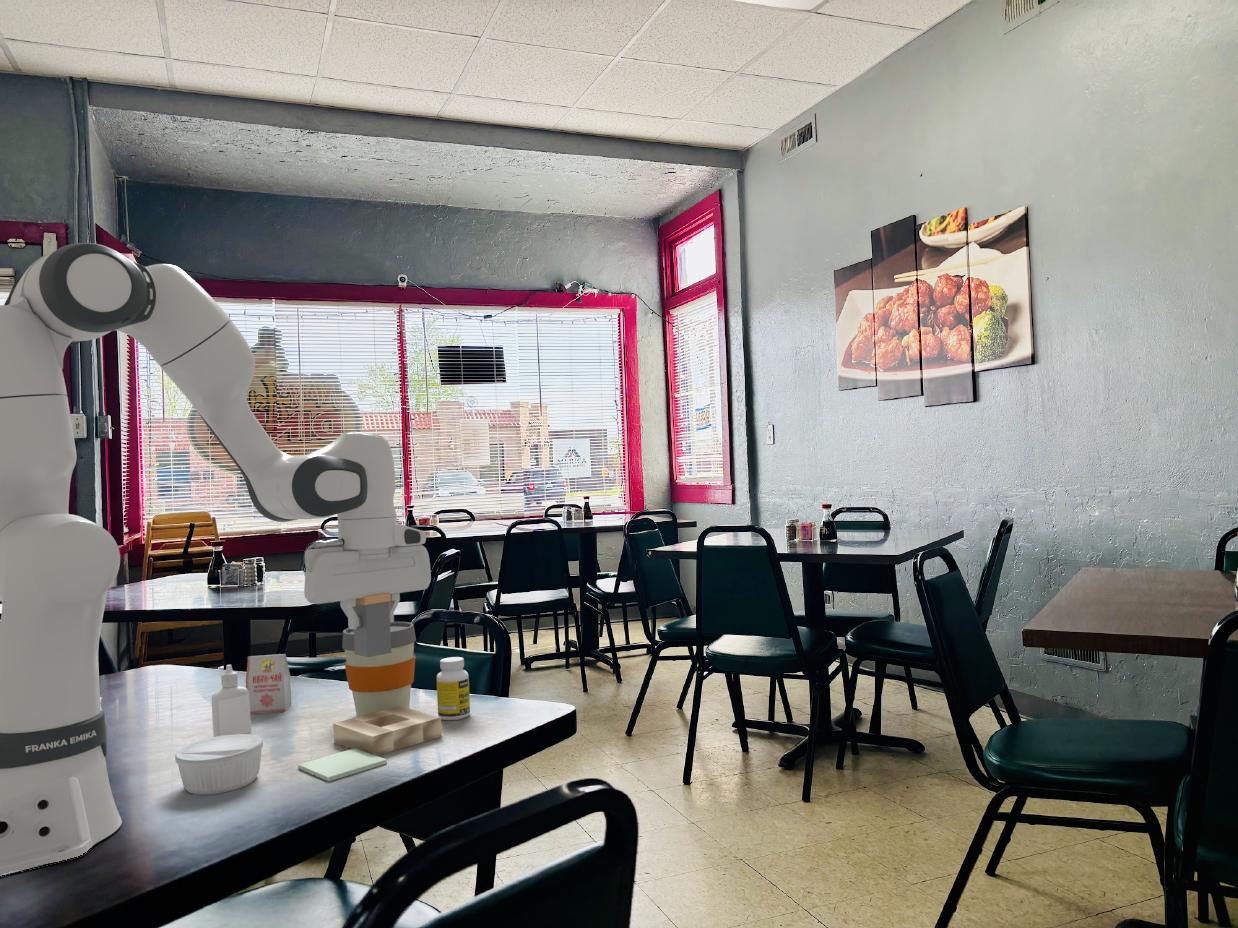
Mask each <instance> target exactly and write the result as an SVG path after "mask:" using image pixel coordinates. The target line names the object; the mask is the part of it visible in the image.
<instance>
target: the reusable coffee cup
mask: <svg viewBox="0 0 1238 928" xmlns="http://www.w3.org/2000/svg"><path fill="white" fill-rule="evenodd" d="M414 626H415V625H414V624H413V623H412V622H410V621H409V622H408V621H394V622H393V623H390V633H391V653H387V654H382V655H377V656H373V657H364V656H359V655H355V646H354V629H350V628H349V627H347V628H345V629H344V630H342V645H341V647H342V649H343V650H344V654H345V659H346V661H345V663H344V668H345V673H346V679H347V683H348V685H347V686H348V689H349V690H350V691H351V692H352V697H353V703H354V708H355V713H356V717H360V716H364V715H368V714H372V713H375V712H379V711H383V710H387V709H391V708H395V707H398V706H401V707H405V708H409V709H410V703H411V691H412V689H411V688H412V684H413V683H414V682H415V681H414V680H415V667H416V655H414V649H415V642H416V641H417V638H416V632H415V627H414Z"/></svg>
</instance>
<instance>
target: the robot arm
mask: <svg viewBox="0 0 1238 928" xmlns="http://www.w3.org/2000/svg"><path fill="white" fill-rule="evenodd" d="M113 331H116V332H121V333H123V334H125V335H128V336H130V337H132V339H134V340H135V341H137V343H139V344H140V345H141V346H143V347H144V348H145V349H146V350H147V352H148V353H149V354H150V356H151V357H152V358H153V360H154V361H155V362H156V363H157V364H158V366H159V367H160V368H161V370H162V371H163V372H164V373H165V374H166V375H167V376H168V377H169V379H170V380H171V381H172V382H173V383H174V385H175V386H176V387H177V388H178V389H179V391H180V392H181V393H182V394H183V395H184V396H185V398H187V400H188V401H189V402H190V403H191V404H190V405H192V406H193V408H194V409H195V410H196V412H197V413H198V415H199V416H200V418H201V420H202V422H204V424H205V425H206V427H207V428H208V430H209V431H210V432H211V433H212V435H213V436H214V437H215V439H216V440H217V441H218V443H219V444H220V445H221V447H222V448H223V450H224V451H225V452H226V454H227V455H228V456H229V458H230V459H231V460H232V461H233V462H232V463H234V465H235V466H236V467H237V468H238V470H239V471H240V473H241V476H242V477H243V480H244V483H245V485H246V488H247V492H248V495H249V498H250V500H251V503H252V505H253V506H254V507H255V509H256V510H257V512H259V514H261V515H262V516H263V517H265V518H267V519H269V520H270V521H274V522H280V523H287V522H292V521H298V520H313V519H314V520H317V519H319V520H321V519H325V518H330V517H332V516H336V515H337V532H338V533H337V534H338V535H337V536H338V538H337V539H336V538H335V539H329V540H316V541H314V542H313V544H310V545H309V546H308V547H307V548H306V549H305V551H304V564H305V565H304V566H305V568H306V569H305V575H304V576H305V577H304V587H303V590H304V593H303V595H304V598H305V599H306V601H307V602H308V603H309V604H314V605H321V604H329V603H335V602H336V603H337V602H340V603H339V604H340V608H341V609H342V611H343V613H344V614H345V616H346V617H347V622H348V623H347V624H348V628H350V629H358V628H362V627H363V623H362V621H363V618H362V616H357V615H356V613H355V611H354V609H353V607H354V606H356V601H355V599H359V598H363V597H366V596H373V595H379V594H386V593H390V596H391V601H389V613H390V623H393V622H395V616H394V615H395V614H394V612H395V611H396V609H397V608H398V607H397V606H398V605H399V603H400V600H401V597H400V596H401V595H400V594H403V593H409V592H416V591H423V590H424V591H425V590H427V589H428V588H429V586H430V583H431V581H432V576H431V575H432V574H431V561H430V556H429V555H430V554H429V552H428V550H427V548H426V547H425V546H424V545H423V544H426V541H427V535H426V532H425V531H424V530H422V529H421V530H420V529H418V528H414V527H410V526H407V525H404V524H400V523H398V519H397V511H396V508H395V504H394V496H395V492H396V476H395V475H396V474H395V473H396V472H395V463H394V457H393V452H392V448H391V445H390V443H389V441H388V440H387V439H386V438H385V437H383V436H381V435H379V434H375V433H371V432H365V431H363V432H361V431H346V432H342V433H341V434H340V435H338V437H337V438H336V439H334V440H333V441H332V442H330V443H329V444H327V445H325V446H323V447H322V448H321V447H320V448H319V449H317V450H313V451H312V452H310V453H308V454H304V455H299V456H293V455H290V454H288V453H286V452H284V451H282V450H281V449H280V448H279V447H278V446H277V445H276V444H275V443H274V442H273V440H272V439H271V437H270V436H269V434H268V433H267V431H266V430H265V429H264V427H263V426H262V424H261V423H260V422H259V420H258V419H257V417H256V415H255V414H254V413H253V411H252V410H251V407H250V406H249V402H248V397H247V396H248V392H249V391H248V390H249V387H250V386H251V383H252V381H253V379H254V377H255V371H256V358H255V356H254V353H253V351H252V350H251V347H250V345H249V344H248V342H247V340H246V338H245V336H244V335H243V333H242V332H241V331H240V330H239V328H238V327H237V326H236V324H235V323H234V321H232V319H230V317H229V315H228V314H227V313H226V312H225V311H224V310H223V309H222V307H220V305H219V304H218V303H217V302H216V300H215V299H214V298H213V297H212V296H211V295H210V294H209V293H208V292H207V291H206V290H205V289H204V288H203V287H202V286H201V285H200V284H199V283H198V282H196V280H195V279H194V278H192V277H191V275H188V273H186V272H185V271H184V270H183V269H182V268H180V267H178V266H177V265H173V264H169V263H154V264H152V265H148V266H144V265H142V264H141V263H137V262H136V261H134V260H131V259H129V258H127V257H126V256H124V255H123V254H122V253H120V252H118V251H117V250H114V249H113V248H110V247H108V246H105V245H102V244H98V243H92V242H77V243H72V244H71V243H70V244H67V245H64V246H61V247H59V248H58V249H55V250H54V251H52V252H49V253H47V254H45V255H42V256H40V257H39V258H38V259H36V260H35V261H34V262H33V263H32V264H30V266H29V267H28V268H27V269H26V270H25V271H23V272H22V273H21V275H20V276H18V278H16V280H15V282H14V284H13V285H12V288H11V290H10V291H9V294H8V296H7V298H6V300H5V302H4V304H2V305H1V304H0V602H1V616H0V875H2V874H4V873H8V872H10V871H15V870H22V869H24V868H30V867H33V866H38V865H43V864H48V863H53V862H58V863H60V862H59V861H62V860H66V861H68V860H67V859H70V858H74V857H77V858H79V857H78V856H80V855H82V856H84V855H83V853H85V852H86V853H88V852H89V851H90V850H91V849H90V848H92V847H93V846H95V845H96V844H97V843H100V841H101V842H102V840H105V839H107V838H108V837H109V836H111V835H112V834H114V833H115V832H116V831H118V829H119V828H120V827H121V826H122V824H123V820H122V817H121V815H120V812H119V810H118V808H117V805H116V802H115V799H114V796H113V792H112V788H111V784H110V779H109V775H108V770H107V769H108V768H107V763H106V756H107V755H108V754H107V753H108V752H107V751H108V750H107V749H108V745H109V744H108V742H109V741H108V726H107V720H106V715H105V711H103V710H101V695H100V672H99V669H100V668H99V666H100V665H99V645H100V637H101V629H102V623H103V618H104V614H105V613H104V612H105V608H106V602H107V597H108V596H107V595H108V592H109V589H110V587H111V586H112V584H113V583H114V581H115V580H116V578H117V575H118V573H119V571H120V564H121V554H120V549H119V546H118V544H117V542H116V540H115V538H114V537H113V536H112V535H111V533H110V532H108V530H106V529H105V528H104V527H102V526H100V525H99V524H97V523H95V522H94V521H91V520H89V519H87V518H84V517H83V516H80V515H76V514H70V513H69V503H70V489H71V481H72V475H73V471H74V469H75V466H76V464H77V459H78V458H77V456H78V455H77V449H76V443H75V442H76V441H75V437H74V435H75V434H74V430H73V423H72V419H71V418H72V417H71V411H70V405H69V398H68V393H67V386H66V383H65V382H66V381H65V378H64V372H63V369H64V357H65V354H66V353H65V352H66V350H67V348H68V347H70V346H74V345H77V344H80V343H83V342H84V341H91V340H92V341H93V340H95V339H99V338H101V337H103V336H105V335H107V334H109V333H111V332H113ZM89 849H90V850H89ZM88 850H89V851H88ZM87 851H88V852H87ZM86 853H85V854H86ZM80 857H81V856H80ZM74 859H75V858H74ZM70 860H71V859H70ZM62 862H63V861H62Z"/></svg>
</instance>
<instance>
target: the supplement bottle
mask: <svg viewBox="0 0 1238 928" xmlns="http://www.w3.org/2000/svg"><path fill="white" fill-rule="evenodd" d="M439 664H440V665H439V666H440V670H441V671H440V672H438V673H437V675H436V695H437V696H436V697H437V699H436V700H437V701H436V702H437V716H438V717H441V721H442V720H443V721H459V720H462V719H465V717H466V718H468V717H469V716H470V715H471V707H470V706H471V704H470V703H471V702H470V700H471V698H470V681H469V680H470V679H469V676H470V675H469V673H468V672H467V671H466V670H465V669H464V667H465V659H464V657H462V656H461V657H460V656H451V657H446V658H442V659H440V660H439Z"/></svg>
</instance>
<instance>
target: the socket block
mask: <svg viewBox="0 0 1238 928" xmlns="http://www.w3.org/2000/svg"><path fill="white" fill-rule="evenodd" d="M332 725H333V727H332V728H333V743H335V744H337V745H340V746H342V747H343V746H344V747H345V748H349V749H354V748H356V749H359V750H362V751H364V752H367V753H370V754H373V755H375V756H378V757H379V756H381V755H384V754H388V753H391V752H395V751H398V750H401V749H404V748H408V747H411V746H415V745H418V744H421V743H424V742H427V741H430V740H431V741H432V740H434V739H438V738H441V737H443V735H442V732H443V731H442V730H443V729H442V719H441V717H438V715H433V714H430V713H426V712H422V711H420V710H416V709H411V708H410V707H409V708H405V707H401V706H398V707H395V708H391V709H387V710H383V711H379V712H375V713H372V714H368V715H364V716H360V717H357V716H356V717H353V718H349V719H345V720H341V721H338V722H334V723H333V724H332Z"/></svg>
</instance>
